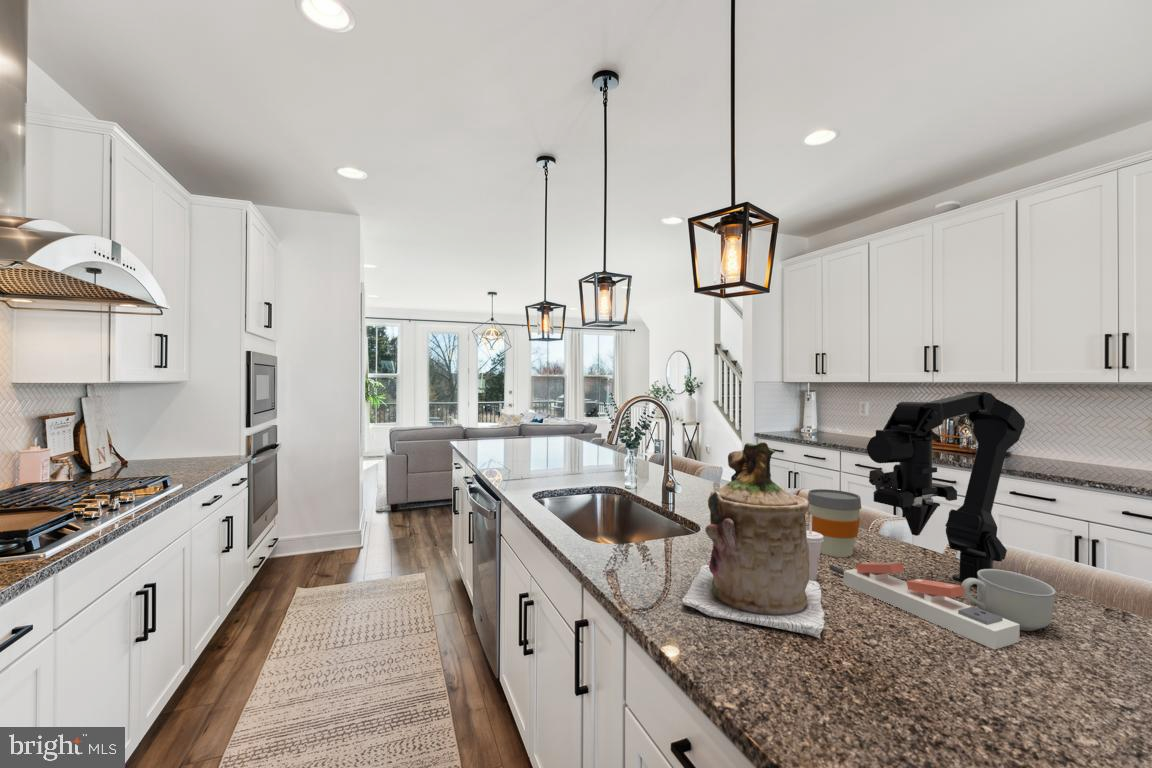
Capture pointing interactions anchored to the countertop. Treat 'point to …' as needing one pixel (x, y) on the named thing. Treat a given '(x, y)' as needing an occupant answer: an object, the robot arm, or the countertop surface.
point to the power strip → (935, 608)
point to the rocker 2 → (936, 588)
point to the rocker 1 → (879, 567)
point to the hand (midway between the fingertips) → (915, 535)
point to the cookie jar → (758, 552)
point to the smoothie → (813, 550)
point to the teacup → (1013, 597)
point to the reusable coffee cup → (835, 520)
